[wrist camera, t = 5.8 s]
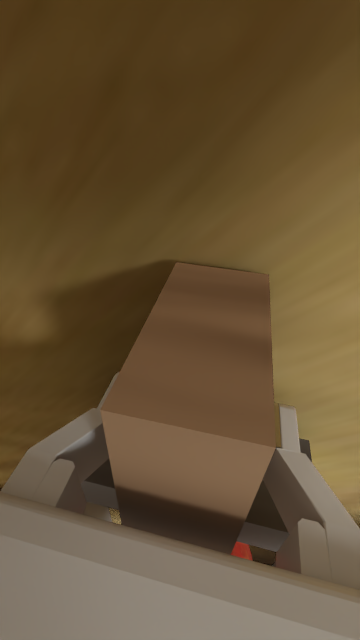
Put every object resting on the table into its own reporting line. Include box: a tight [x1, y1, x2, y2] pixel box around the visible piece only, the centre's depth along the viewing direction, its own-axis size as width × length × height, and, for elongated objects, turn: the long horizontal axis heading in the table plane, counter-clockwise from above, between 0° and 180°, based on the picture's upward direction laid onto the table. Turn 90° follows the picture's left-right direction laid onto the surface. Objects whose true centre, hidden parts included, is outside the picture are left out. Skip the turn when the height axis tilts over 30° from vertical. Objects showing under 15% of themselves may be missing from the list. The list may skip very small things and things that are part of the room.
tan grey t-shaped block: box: [81, 262, 312, 555], centre depth 10 cm, size 10×10×6 cm
